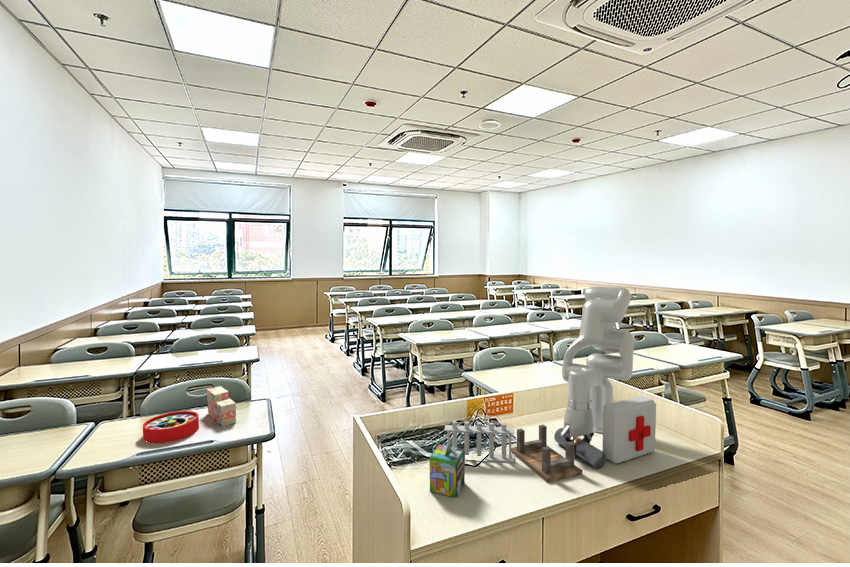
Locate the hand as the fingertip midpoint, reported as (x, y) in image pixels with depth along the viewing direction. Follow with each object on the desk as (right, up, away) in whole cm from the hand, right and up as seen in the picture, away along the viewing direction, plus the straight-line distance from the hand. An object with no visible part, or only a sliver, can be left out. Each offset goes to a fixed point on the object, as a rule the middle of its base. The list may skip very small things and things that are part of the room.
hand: (578, 451), depth 145 cm
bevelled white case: (+18, -1, -1) cm, 18 cm away
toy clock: (-164, -2, +23) cm, 165 cm away
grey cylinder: (0, +2, 0) cm, 2 cm away
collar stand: (-14, -2, -5) cm, 15 cm away
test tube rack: (-37, -2, -1) cm, 37 cm away
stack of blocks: (-151, -1, +38) cm, 155 cm away
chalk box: (-49, -3, -20) cm, 53 cm away
